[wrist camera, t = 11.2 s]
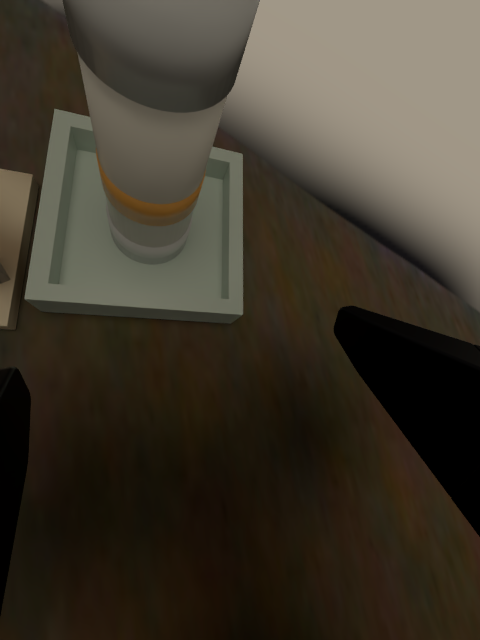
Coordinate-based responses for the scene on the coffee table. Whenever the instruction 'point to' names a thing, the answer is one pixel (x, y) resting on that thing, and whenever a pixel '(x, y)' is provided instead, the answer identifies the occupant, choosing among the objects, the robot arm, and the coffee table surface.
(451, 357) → the robot arm
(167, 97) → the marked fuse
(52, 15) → the coffee table surface
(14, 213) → the fuse holder
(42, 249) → the tray
